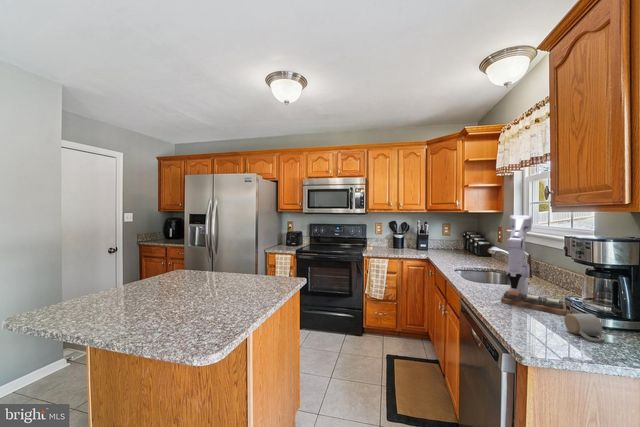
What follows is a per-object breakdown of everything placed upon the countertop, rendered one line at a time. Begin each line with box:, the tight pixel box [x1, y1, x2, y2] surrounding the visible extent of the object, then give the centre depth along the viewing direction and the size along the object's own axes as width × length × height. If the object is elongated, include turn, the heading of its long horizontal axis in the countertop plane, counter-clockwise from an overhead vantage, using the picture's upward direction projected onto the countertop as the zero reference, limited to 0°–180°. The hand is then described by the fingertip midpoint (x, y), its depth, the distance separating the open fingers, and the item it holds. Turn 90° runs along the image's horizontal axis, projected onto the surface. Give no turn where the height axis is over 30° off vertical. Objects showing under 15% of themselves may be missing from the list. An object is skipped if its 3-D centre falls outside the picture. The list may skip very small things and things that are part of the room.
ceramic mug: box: [563, 313, 604, 343], centre depth 100 cm, size 11×8×8 cm
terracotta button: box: [507, 288, 520, 296], centre depth 136 cm, size 4×4×2 cm
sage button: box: [546, 297, 560, 304], centre depth 126 cm, size 4×4×2 cm
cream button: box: [527, 294, 540, 300], centre depth 131 cm, size 4×4×2 cm
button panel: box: [500, 290, 567, 317], centre depth 131 cm, size 24×12×4 cm, turn 49°
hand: (514, 288), depth 136 cm, fingers closed
